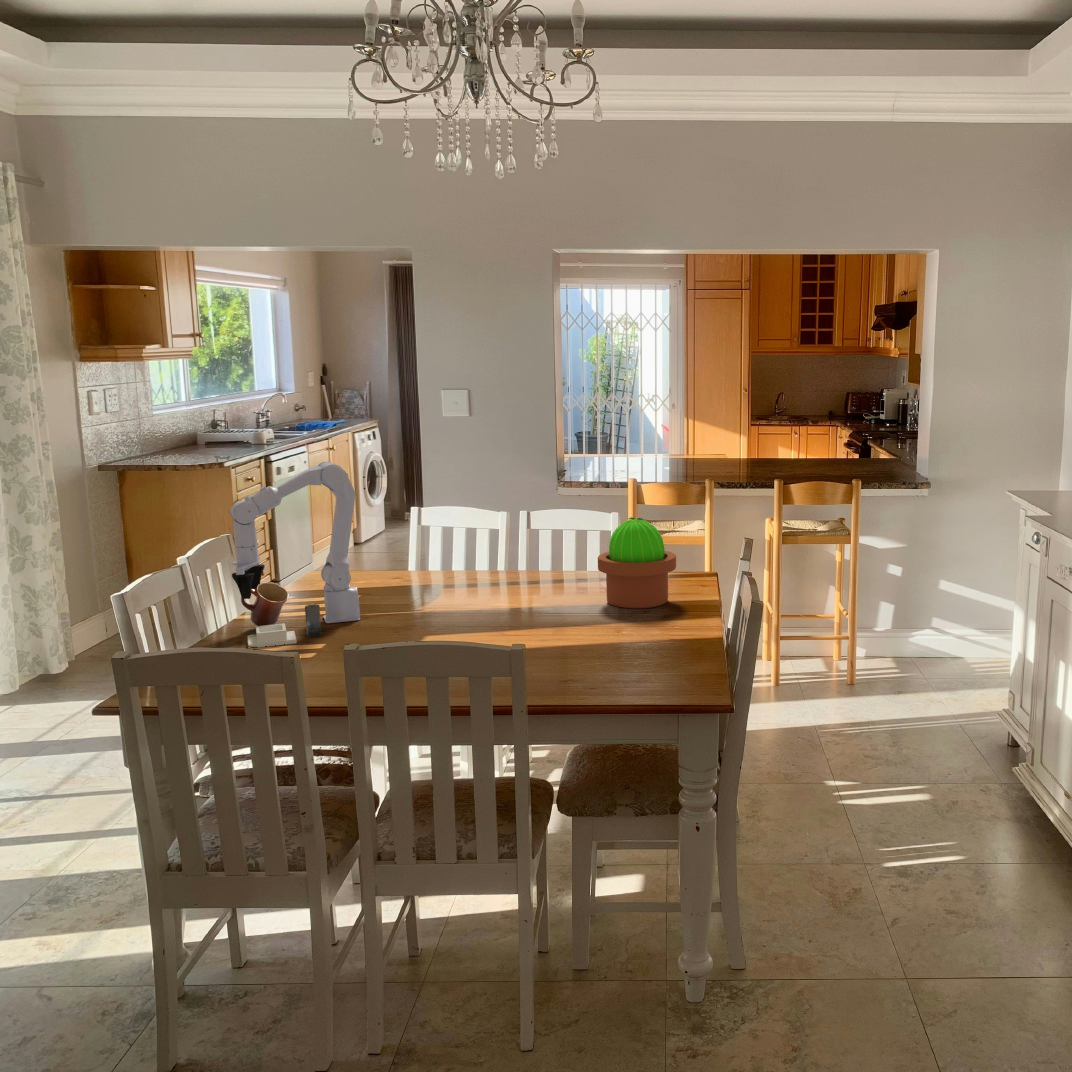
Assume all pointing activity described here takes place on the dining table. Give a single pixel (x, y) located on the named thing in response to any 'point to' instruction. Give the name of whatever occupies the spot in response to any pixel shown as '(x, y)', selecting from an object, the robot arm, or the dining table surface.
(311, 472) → the robot arm
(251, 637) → the charger
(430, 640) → the dining table surface
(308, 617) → the cell
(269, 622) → the mug
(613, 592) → the potted cactus
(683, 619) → the dining table surface
